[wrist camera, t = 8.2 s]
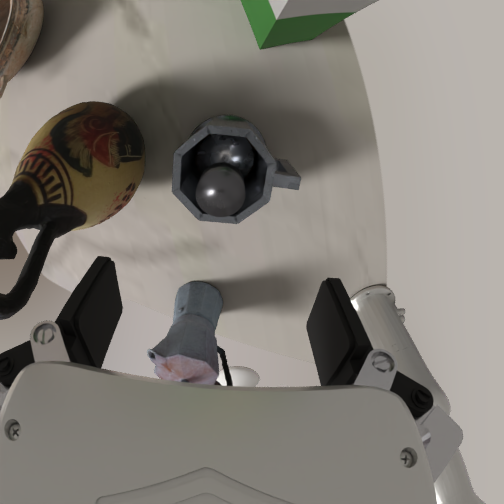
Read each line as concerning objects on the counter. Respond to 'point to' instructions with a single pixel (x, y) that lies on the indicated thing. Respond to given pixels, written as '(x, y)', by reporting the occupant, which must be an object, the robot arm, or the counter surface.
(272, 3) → the hardback book
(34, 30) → the cooking pot
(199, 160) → the dark grey stemmed piece
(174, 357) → the moka pot
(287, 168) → the carafe
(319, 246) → the counter surface
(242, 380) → the flower in vase
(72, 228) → the ceramic jug
